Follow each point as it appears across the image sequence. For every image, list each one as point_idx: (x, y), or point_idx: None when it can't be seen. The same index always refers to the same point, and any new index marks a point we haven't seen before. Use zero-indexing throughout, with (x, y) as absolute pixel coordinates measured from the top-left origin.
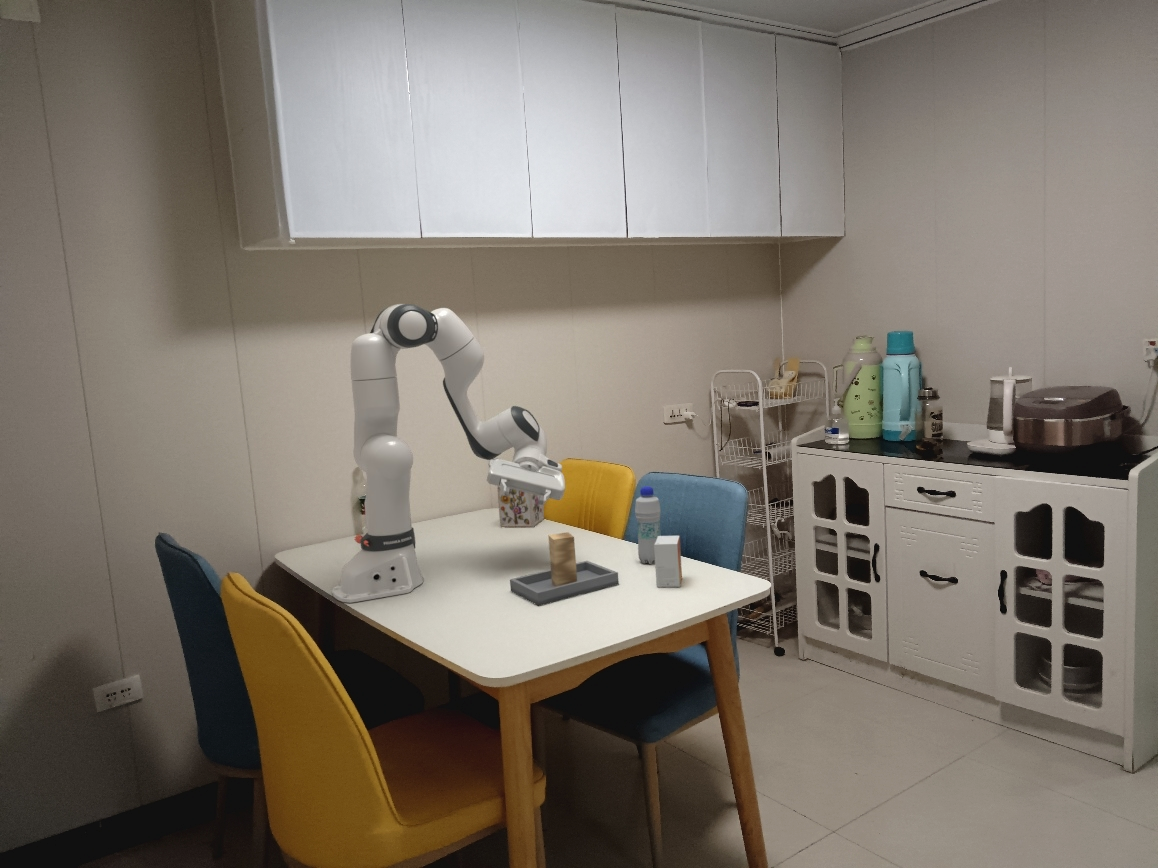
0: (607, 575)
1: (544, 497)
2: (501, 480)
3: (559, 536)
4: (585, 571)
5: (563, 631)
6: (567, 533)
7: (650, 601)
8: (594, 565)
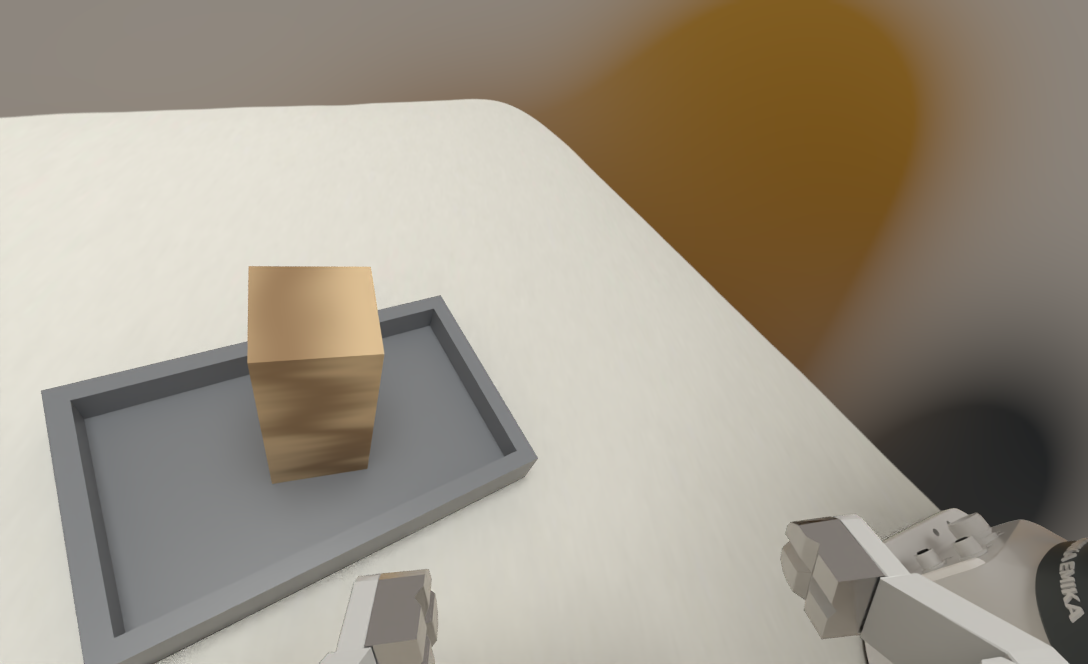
0: (117, 373)
1: (364, 616)
2: (1060, 660)
3: (327, 301)
4: (147, 611)
5: (390, 174)
6: (262, 338)
7: (61, 230)
8: (95, 548)
